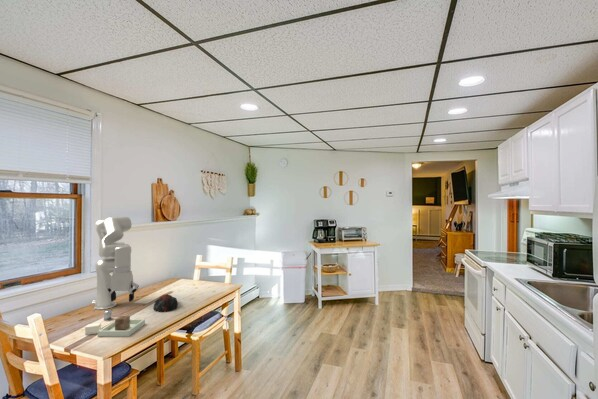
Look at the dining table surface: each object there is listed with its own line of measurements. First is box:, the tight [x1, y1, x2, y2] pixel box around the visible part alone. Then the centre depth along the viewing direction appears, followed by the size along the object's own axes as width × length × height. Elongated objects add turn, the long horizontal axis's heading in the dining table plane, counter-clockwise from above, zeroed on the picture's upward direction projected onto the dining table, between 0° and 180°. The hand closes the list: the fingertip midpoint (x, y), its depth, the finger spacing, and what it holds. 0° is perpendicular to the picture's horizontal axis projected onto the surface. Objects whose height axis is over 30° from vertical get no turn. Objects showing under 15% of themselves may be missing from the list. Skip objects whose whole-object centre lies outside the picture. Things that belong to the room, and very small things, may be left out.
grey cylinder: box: [103, 309, 113, 321], centre depth 176 cm, size 4×4×5 cm
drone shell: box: [153, 294, 178, 313], centre depth 198 cm, size 21×20×8 cm
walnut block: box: [114, 315, 131, 331], centre depth 160 cm, size 5×5×6 cm
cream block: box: [84, 322, 102, 336], centre depth 157 cm, size 6×4×4 cm, turn 109°
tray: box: [97, 318, 146, 337], centre depth 160 cm, size 16×16×3 cm
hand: (122, 300), depth 161 cm, fingers open, 9 cm apart
